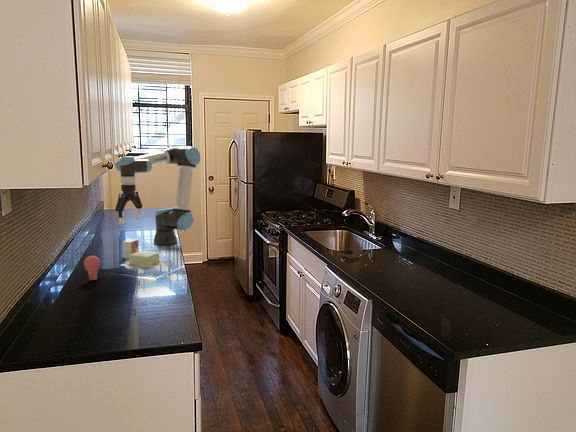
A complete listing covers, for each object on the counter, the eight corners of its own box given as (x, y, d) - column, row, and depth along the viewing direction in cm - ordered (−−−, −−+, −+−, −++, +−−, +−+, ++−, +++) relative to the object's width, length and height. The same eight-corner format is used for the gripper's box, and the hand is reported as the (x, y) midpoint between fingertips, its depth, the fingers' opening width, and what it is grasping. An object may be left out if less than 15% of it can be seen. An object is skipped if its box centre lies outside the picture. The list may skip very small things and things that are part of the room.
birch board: (141, 259, 248) (141, 257, 248) (168, 262, 242) (168, 260, 242) (119, 267, 231) (119, 265, 231) (148, 270, 225) (148, 268, 225)
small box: (131, 260, 246) (131, 242, 244) (122, 259, 247) (122, 241, 245) (139, 257, 254) (138, 239, 252) (130, 256, 255) (129, 238, 253)
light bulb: (94, 277, 213) (93, 253, 211) (104, 279, 210) (103, 255, 208) (81, 281, 207) (80, 256, 205) (91, 283, 204) (90, 258, 202)
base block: (141, 259, 243) (140, 250, 242) (159, 261, 239) (159, 252, 239) (129, 264, 234) (128, 254, 233) (148, 266, 230) (147, 257, 229)
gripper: (136, 182, 256) (138, 217, 260) (106, 185, 233) (109, 224, 236) (147, 182, 254) (149, 218, 257) (118, 186, 231) (120, 225, 234)
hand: (130, 221), depth 247 cm, fingers open, 13 cm apart
